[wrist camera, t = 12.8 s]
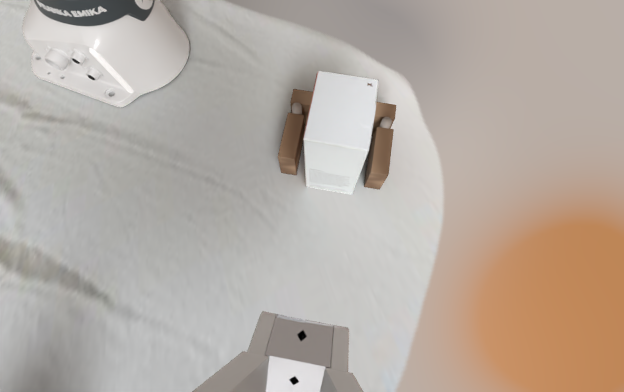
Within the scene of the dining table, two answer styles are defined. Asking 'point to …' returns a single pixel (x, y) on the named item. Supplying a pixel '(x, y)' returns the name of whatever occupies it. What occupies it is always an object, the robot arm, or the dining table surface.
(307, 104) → the brown u-shaped piece
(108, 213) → the dining table surface
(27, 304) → the dining table surface
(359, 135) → the small box
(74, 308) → the dining table surface
